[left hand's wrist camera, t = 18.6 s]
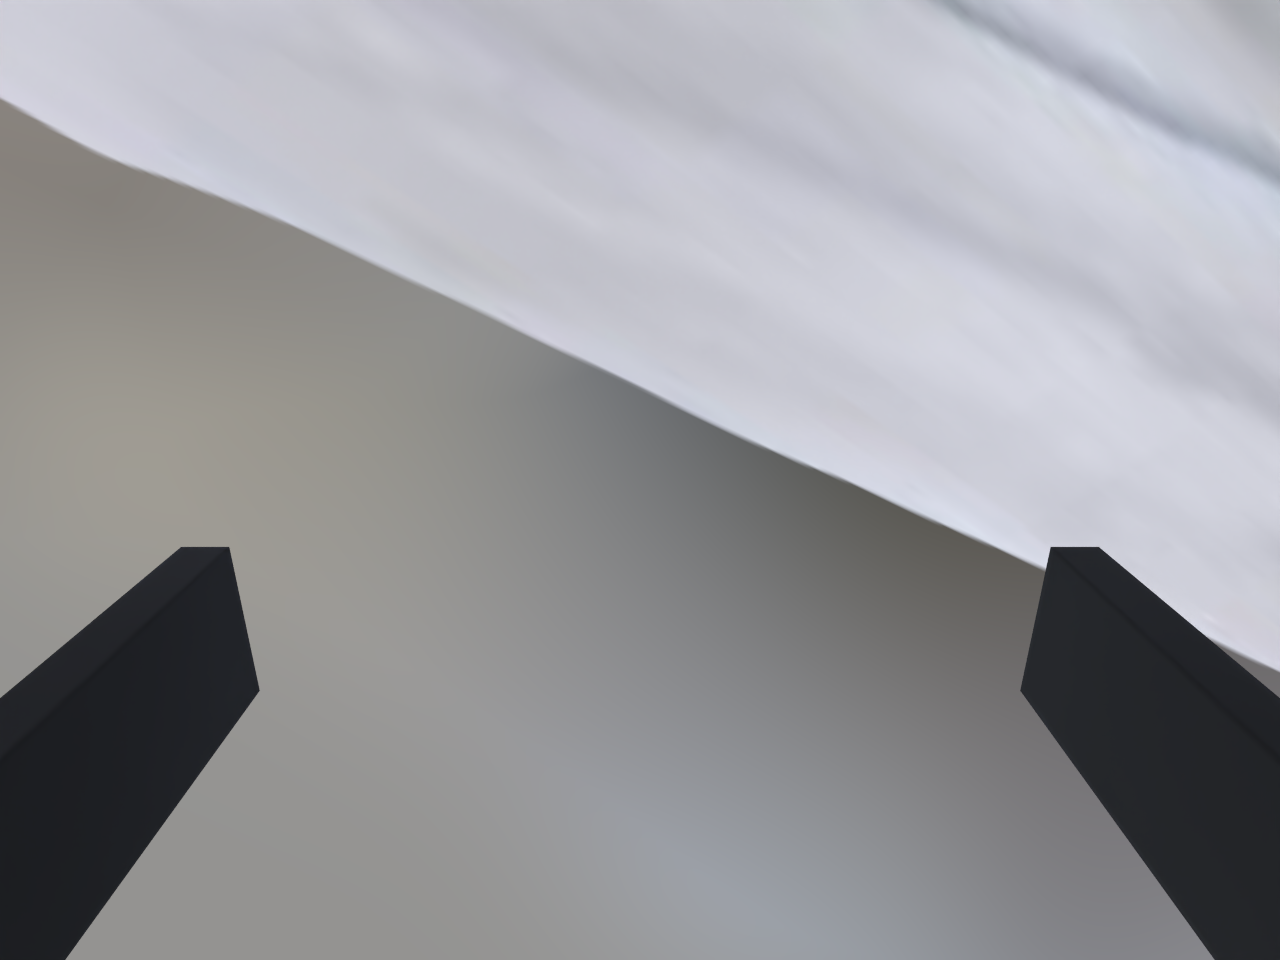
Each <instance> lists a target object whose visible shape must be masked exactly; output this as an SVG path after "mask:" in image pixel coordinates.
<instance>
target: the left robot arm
mask: <svg viewBox="0 0 1280 960" xmlns="http://www.w3.org/2000/svg"><path fill="white" fill-rule="evenodd" d="M1020 691H1021V692H1022V694H1023V695H1024V696H1025V698H1026V699H1027V700H1028V702H1029V703H1030V705H1031V706H1032V707H1033V709H1034V710H1035V712H1036V713H1037V714H1038V716H1039V717H1040V718H1041V720H1042V721H1043V723H1044V724H1045V725H1046V727H1047V728H1048V730H1049V731H1050V732H1051V734H1052V735H1053V736H1054V738H1055V739H1056V741H1057V742H1058V743H1059V745H1060V746H1061V748H1062V749H1063V750H1064V752H1065V753H1066V754H1067V756H1068V757H1069V759H1070V760H1071V761H1072V763H1073V764H1074V766H1075V767H1076V768H1077V770H1078V771H1079V772H1080V774H1081V775H1082V777H1083V778H1084V779H1085V781H1086V782H1087V784H1088V785H1089V786H1090V788H1091V789H1092V790H1093V792H1094V793H1095V795H1096V796H1097V797H1098V799H1099V800H1100V802H1101V803H1102V804H1103V806H1104V807H1105V808H1106V810H1107V811H1108V813H1109V814H1110V815H1111V817H1112V818H1113V820H1114V821H1115V822H1116V824H1117V825H1118V826H1119V828H1120V829H1121V831H1122V832H1123V833H1124V835H1125V836H1126V838H1127V839H1128V840H1129V842H1130V843H1131V844H1132V846H1133V847H1134V849H1135V850H1136V851H1137V853H1138V854H1139V856H1140V857H1141V858H1142V860H1143V861H1144V862H1145V864H1146V865H1147V867H1148V868H1149V869H1150V871H1151V872H1152V874H1153V875H1154V876H1155V878H1156V879H1157V880H1158V882H1159V883H1160V885H1161V886H1162V887H1163V889H1164V890H1165V892H1166V893H1167V894H1168V896H1169V897H1170V898H1171V900H1172V901H1173V903H1174V904H1175V905H1176V907H1177V908H1178V910H1179V911H1180V912H1181V914H1182V915H1183V916H1184V918H1185V919H1186V921H1187V922H1188V923H1189V925H1190V926H1191V927H1192V929H1193V930H1194V932H1195V933H1196V934H1197V936H1198V937H1199V939H1200V940H1201V941H1202V943H1203V944H1204V946H1205V947H1206V948H1207V950H1208V951H1209V952H1210V954H1211V955H1212V957H1213V958H1214V959H1215V960H1280V698H1279V697H1278V696H1277V695H1275V694H1274V693H1273V692H1272V691H1270V690H1269V689H1268V688H1267V687H1266V686H1264V685H1263V684H1262V683H1261V682H1260V681H1259V680H1257V679H1256V678H1255V677H1254V676H1253V675H1251V674H1250V673H1249V672H1248V671H1247V670H1245V669H1244V668H1243V667H1242V666H1241V665H1239V664H1238V663H1237V662H1236V661H1235V660H1233V659H1232V658H1231V657H1230V656H1229V655H1227V654H1226V653H1225V652H1224V651H1223V650H1221V649H1220V648H1219V647H1218V646H1217V645H1215V644H1214V643H1213V642H1212V641H1211V640H1209V639H1208V638H1207V637H1206V636H1205V635H1203V634H1202V633H1201V632H1200V631H1199V630H1197V629H1196V628H1195V627H1194V626H1193V625H1191V624H1190V623H1189V622H1188V621H1187V620H1186V619H1184V618H1183V617H1182V616H1181V615H1180V614H1178V613H1177V612H1176V611H1175V610H1174V609H1172V608H1171V607H1170V606H1169V605H1168V604H1166V603H1165V602H1164V601H1163V600H1162V599H1160V598H1159V597H1158V596H1157V595H1156V594H1154V593H1153V592H1152V591H1151V590H1150V589H1148V588H1147V587H1146V586H1145V585H1144V584H1142V583H1141V582H1140V581H1139V580H1138V579H1136V578H1135V577H1134V576H1133V575H1132V574H1130V573H1129V572H1128V571H1127V570H1126V569H1124V568H1123V567H1122V566H1121V565H1120V564H1118V563H1117V562H1116V561H1115V560H1114V559H1112V558H1111V557H1110V556H1109V555H1108V554H1106V553H1105V552H1104V551H1103V550H1102V549H1100V548H1099V547H1051V549H1050V553H1049V558H1048V563H1047V567H1046V572H1045V577H1044V582H1043V586H1042V591H1041V596H1040V601H1039V605H1038V610H1037V615H1036V620H1035V624H1034V629H1033V634H1032V638H1031V643H1030V648H1029V653H1028V657H1027V662H1026V667H1025V671H1024V676H1023V681H1022V685H1021V690H1020ZM258 692H259V686H258V681H257V676H256V671H255V667H254V662H253V657H252V653H251V648H250V643H249V638H248V634H247V629H246V624H245V620H244V615H243V610H242V605H241V600H240V596H239V591H238V586H237V582H236V577H235V572H234V567H233V563H232V558H231V553H230V549H229V547H181V548H180V549H178V550H177V551H176V552H175V553H174V554H172V555H171V556H170V557H169V558H168V559H166V560H165V561H164V562H163V563H162V564H160V565H159V566H158V567H157V568H156V569H154V570H153V571H152V572H151V573H150V574H148V575H147V576H146V577H145V578H144V579H143V580H141V581H140V582H139V583H138V584H136V585H135V586H134V587H133V588H132V589H130V590H129V591H128V592H127V593H126V594H124V595H123V596H122V597H121V598H120V599H118V600H117V601H116V602H115V603H114V604H112V605H111V606H110V607H109V608H108V609H107V610H105V611H104V612H103V613H102V614H100V615H99V616H98V617H97V618H96V619H94V620H93V621H92V622H91V623H90V624H89V625H87V626H86V627H85V628H84V629H83V630H81V631H80V632H79V633H78V634H77V635H75V636H74V637H73V638H72V639H71V640H69V641H68V642H67V643H66V644H65V645H63V646H62V647H61V648H60V649H59V650H57V651H56V652H55V653H54V654H53V655H51V656H50V657H49V658H48V659H47V660H45V661H44V662H43V663H42V664H41V665H39V666H38V667H37V668H36V669H35V670H34V671H32V672H31V673H30V674H29V675H27V676H26V677H25V678H24V679H23V680H21V681H20V682H19V683H18V684H17V685H15V686H14V687H13V688H12V689H11V690H9V691H8V692H7V693H6V694H5V695H3V696H2V697H1V698H0V960H65V959H66V958H67V957H68V955H69V954H70V952H71V951H72V950H73V948H74V947H75V946H76V944H77V943H78V941H79V940H80V939H81V937H82V936H83V934H84V933H85V932H86V930H87V929H88V928H89V926H90V925H91V923H92V922H93V921H94V919H95V918H96V916H97V915H98V914H99V912H100V911H101V910H102V908H103V907H104V905H105V904H106V903H107V901H108V900H109V898H110V897H111V896H112V894H113V893H114V892H115V890H116V889H117V887H118V886H119V884H120V883H121V882H122V880H123V879H124V878H125V876H126V875H127V874H128V872H129V871H130V869H131V868H132V867H133V865H134V864H135V862H136V861H137V860H138V858H139V857H140V856H141V854H142V853H143V851H144V850H145V849H146V847H147V846H148V844H149V843H150V842H151V840H152V839H153V838H154V836H155V835H156V833H157V832H158V831H159V829H160V828H161V826H162V825H163V824H164V822H165V821H166V819H167V818H168V817H169V815H170V814H171V813H172V811H173V810H174V808H175V807H176V806H177V804H178V803H179V801H180V800H181V799H182V797H183V796H184V795H185V793H186V792H187V790H188V789H189V788H190V786H191V785H192V784H193V782H194V781H195V779H196V778H197V777H198V775H199V774H200V772H201V771H202V770H203V768H204V767H205V765H206V764H207V763H208V761H209V760H210V759H211V757H212V756H213V754H214V753H215V752H216V750H217V749H218V748H219V746H220V745H221V743H222V742H223V741H224V739H225V738H226V736H227V735H228V734H229V732H230V731H231V730H232V728H233V727H234V725H235V724H236V723H237V721H238V720H239V718H240V717H241V716H242V714H243V713H244V712H245V710H246V709H247V707H248V706H249V705H250V703H251V702H252V700H253V699H254V698H255V696H256V695H257V693H258Z"/></svg>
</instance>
